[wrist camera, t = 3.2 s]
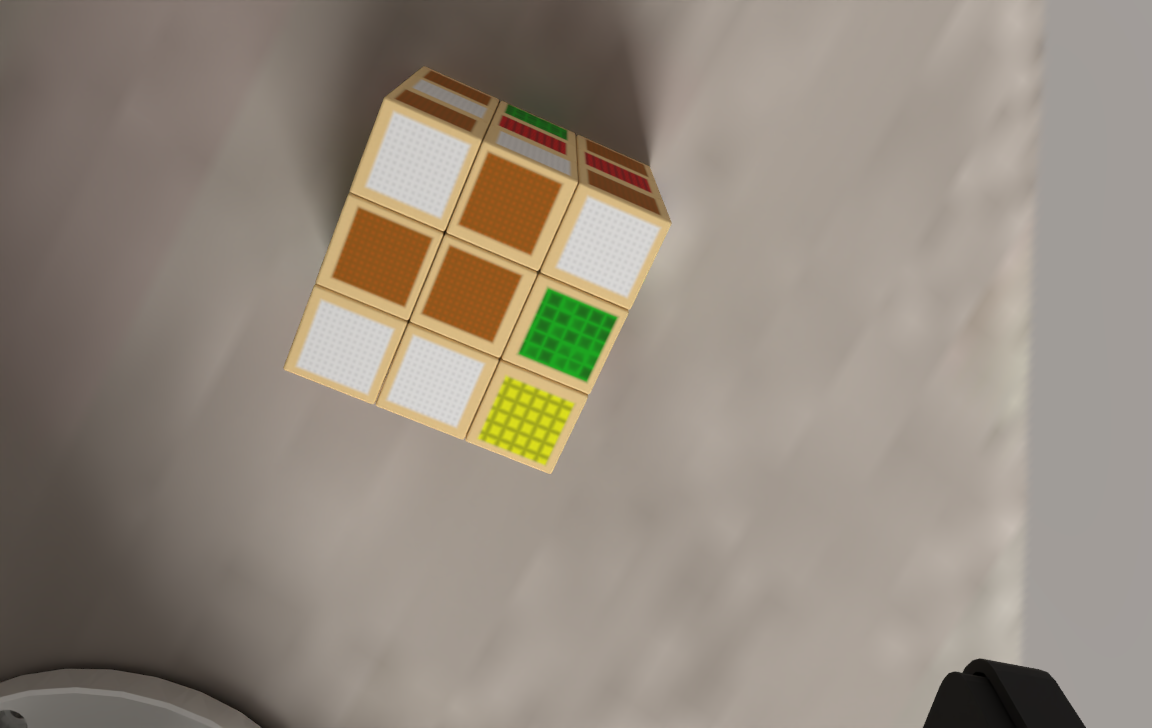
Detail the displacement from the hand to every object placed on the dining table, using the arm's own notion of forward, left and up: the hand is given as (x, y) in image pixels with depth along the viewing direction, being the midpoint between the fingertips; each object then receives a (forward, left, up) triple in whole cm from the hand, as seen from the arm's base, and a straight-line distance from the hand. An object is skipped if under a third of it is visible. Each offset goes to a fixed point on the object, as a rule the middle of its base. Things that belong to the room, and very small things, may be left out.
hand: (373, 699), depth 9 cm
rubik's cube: (0, 0, -18) cm, 18 cm away
